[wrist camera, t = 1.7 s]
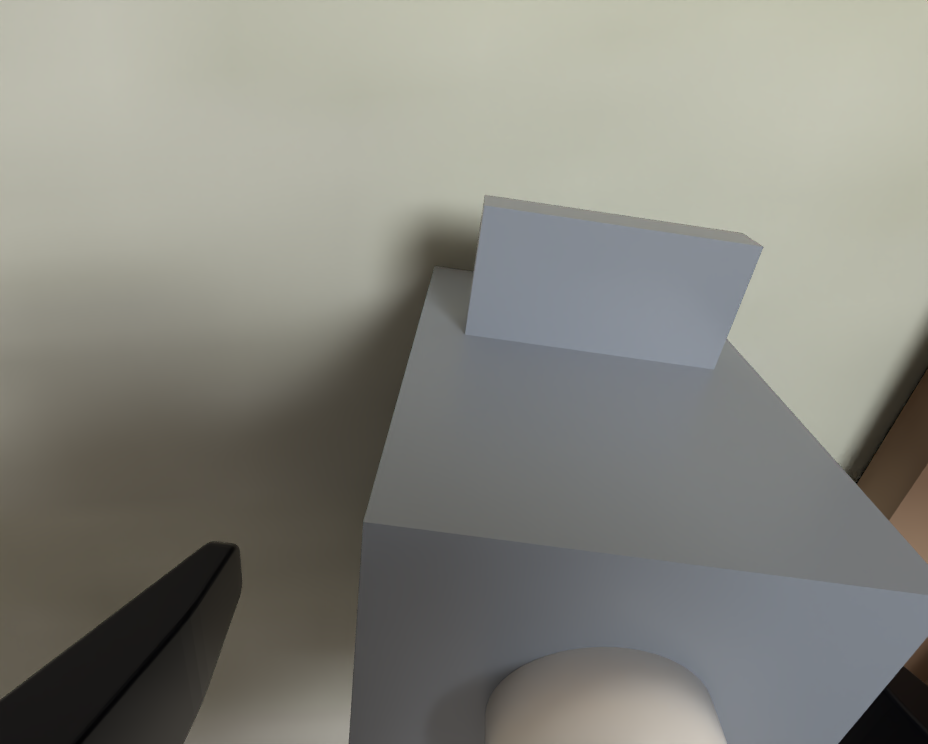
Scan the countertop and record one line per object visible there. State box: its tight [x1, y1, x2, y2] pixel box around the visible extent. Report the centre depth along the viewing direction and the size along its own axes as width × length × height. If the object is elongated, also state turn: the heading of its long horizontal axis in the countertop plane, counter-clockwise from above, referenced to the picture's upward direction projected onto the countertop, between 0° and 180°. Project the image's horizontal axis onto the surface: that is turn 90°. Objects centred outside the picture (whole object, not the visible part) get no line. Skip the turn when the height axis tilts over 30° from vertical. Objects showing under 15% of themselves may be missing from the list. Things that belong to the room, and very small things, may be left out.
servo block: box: [349, 195, 928, 744], centre depth 8 cm, size 11×4×7 cm, turn 172°
